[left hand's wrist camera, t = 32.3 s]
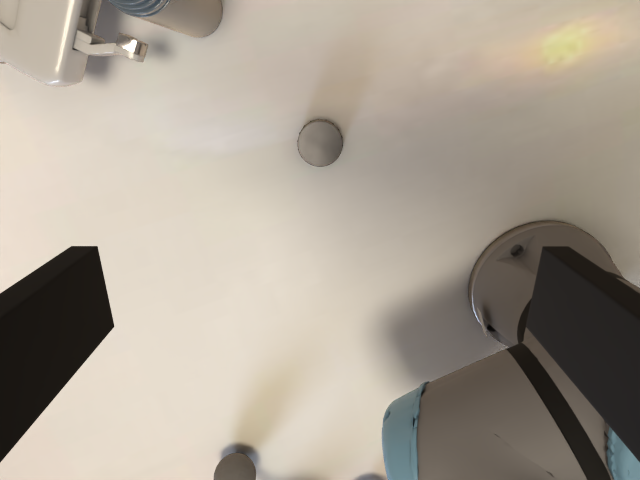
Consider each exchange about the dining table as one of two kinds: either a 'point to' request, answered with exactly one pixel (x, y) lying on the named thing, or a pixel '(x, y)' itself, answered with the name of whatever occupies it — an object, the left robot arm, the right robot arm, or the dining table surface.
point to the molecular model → (235, 468)
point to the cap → (320, 143)
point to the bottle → (176, 14)
